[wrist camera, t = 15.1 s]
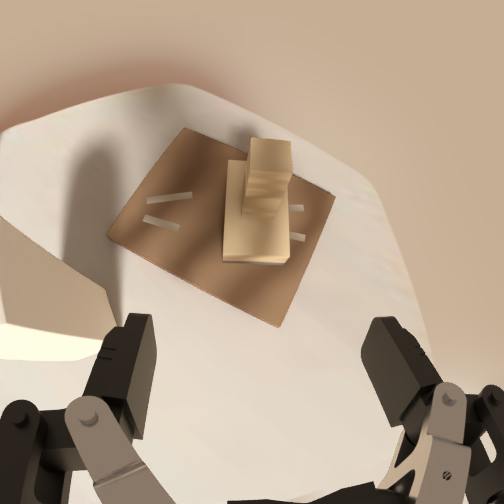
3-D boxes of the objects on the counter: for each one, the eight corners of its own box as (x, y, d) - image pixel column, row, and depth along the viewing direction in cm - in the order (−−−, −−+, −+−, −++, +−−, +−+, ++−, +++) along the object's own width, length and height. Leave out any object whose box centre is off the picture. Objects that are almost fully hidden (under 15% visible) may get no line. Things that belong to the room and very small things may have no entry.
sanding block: (222, 262, 30) (225, 214, 19) (227, 175, 33) (233, 104, 23) (283, 265, 30) (316, 219, 20) (280, 179, 34) (305, 112, 23)
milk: (105, 288, 29) (-38, 176, 8) (124, 344, 27) (-38, 310, 7) (59, 308, 27) (-100, 231, 7) (75, 362, 26) (-98, 347, 5)
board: (109, 238, 30) (106, 234, 29) (184, 133, 36) (184, 127, 35) (277, 327, 30) (280, 326, 28) (332, 201, 35) (335, 196, 34)
